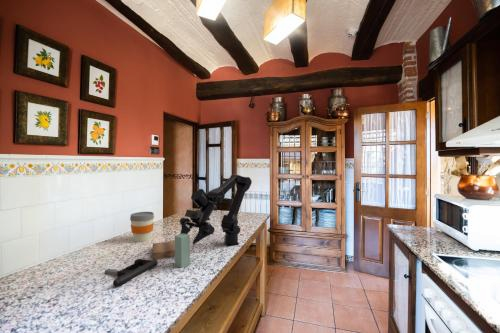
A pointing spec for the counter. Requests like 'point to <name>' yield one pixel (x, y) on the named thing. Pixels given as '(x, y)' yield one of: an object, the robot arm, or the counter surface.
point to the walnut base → (163, 250)
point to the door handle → (132, 271)
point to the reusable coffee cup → (142, 226)
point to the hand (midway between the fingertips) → (186, 241)
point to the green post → (182, 250)
